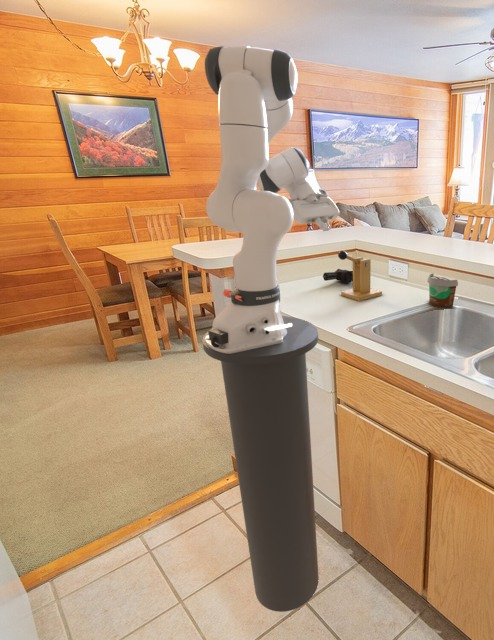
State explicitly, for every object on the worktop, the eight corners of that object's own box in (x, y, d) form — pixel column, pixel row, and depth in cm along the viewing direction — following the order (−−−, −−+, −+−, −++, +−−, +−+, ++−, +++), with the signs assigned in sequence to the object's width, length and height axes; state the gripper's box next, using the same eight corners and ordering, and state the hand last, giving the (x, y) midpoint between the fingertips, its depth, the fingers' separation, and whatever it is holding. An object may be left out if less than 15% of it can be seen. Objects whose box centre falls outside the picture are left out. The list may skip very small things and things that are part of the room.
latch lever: (341, 258, 151) (343, 249, 151) (335, 257, 153) (337, 248, 153) (365, 269, 161) (368, 261, 161) (359, 268, 163) (362, 259, 163)
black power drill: (379, 272, 182) (354, 266, 191) (345, 275, 168) (319, 268, 177) (378, 285, 184) (353, 278, 193) (344, 289, 170) (319, 281, 179)
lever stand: (358, 301, 159) (358, 263, 153) (341, 295, 165) (340, 258, 159) (382, 294, 167) (382, 258, 161) (364, 289, 173) (364, 254, 167)
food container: (418, 302, 159) (420, 275, 155) (430, 299, 163) (432, 272, 159) (444, 311, 151) (446, 282, 147) (455, 307, 154) (458, 279, 150)
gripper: (288, 193, 144) (311, 226, 143) (329, 190, 160) (350, 220, 159) (280, 206, 148) (302, 239, 148) (320, 202, 164) (341, 232, 163)
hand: (327, 229), depth 153 cm, fingers closed
